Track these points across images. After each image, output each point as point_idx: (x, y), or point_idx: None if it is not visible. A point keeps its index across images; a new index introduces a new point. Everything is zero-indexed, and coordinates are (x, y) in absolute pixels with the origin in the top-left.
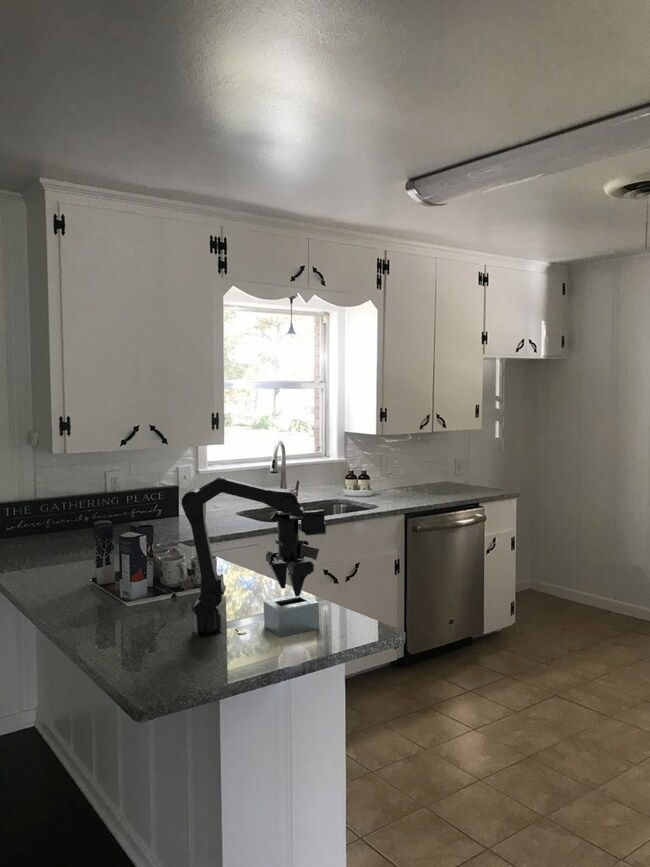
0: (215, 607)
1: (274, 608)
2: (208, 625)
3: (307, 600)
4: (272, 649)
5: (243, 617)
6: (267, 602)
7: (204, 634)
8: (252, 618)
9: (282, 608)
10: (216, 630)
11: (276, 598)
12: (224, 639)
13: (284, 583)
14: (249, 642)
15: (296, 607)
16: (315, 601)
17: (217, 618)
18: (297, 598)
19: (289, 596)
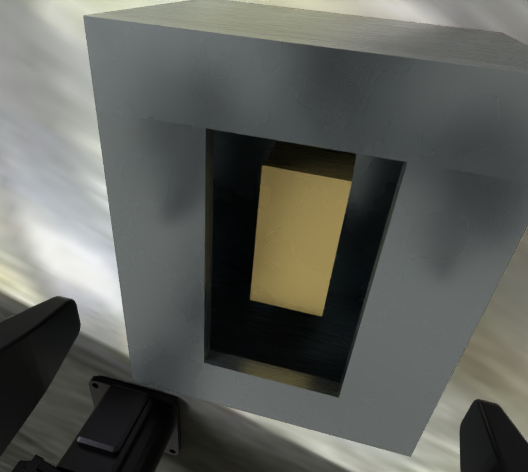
0: (67, 469)
1: (333, 427)
2: (158, 463)
3: (388, 147)
4: (504, 404)
5: (17, 243)
6: (190, 392)
7: (172, 443)
8: (46, 223)
9: (403, 425)
10: (157, 409)
11: (128, 303)
12: (243, 422)
13: (38, 345)
14: None
15: (463, 338)
16: (523, 94)
17: (131, 449)
18: (208, 157)
19: (126, 198)
